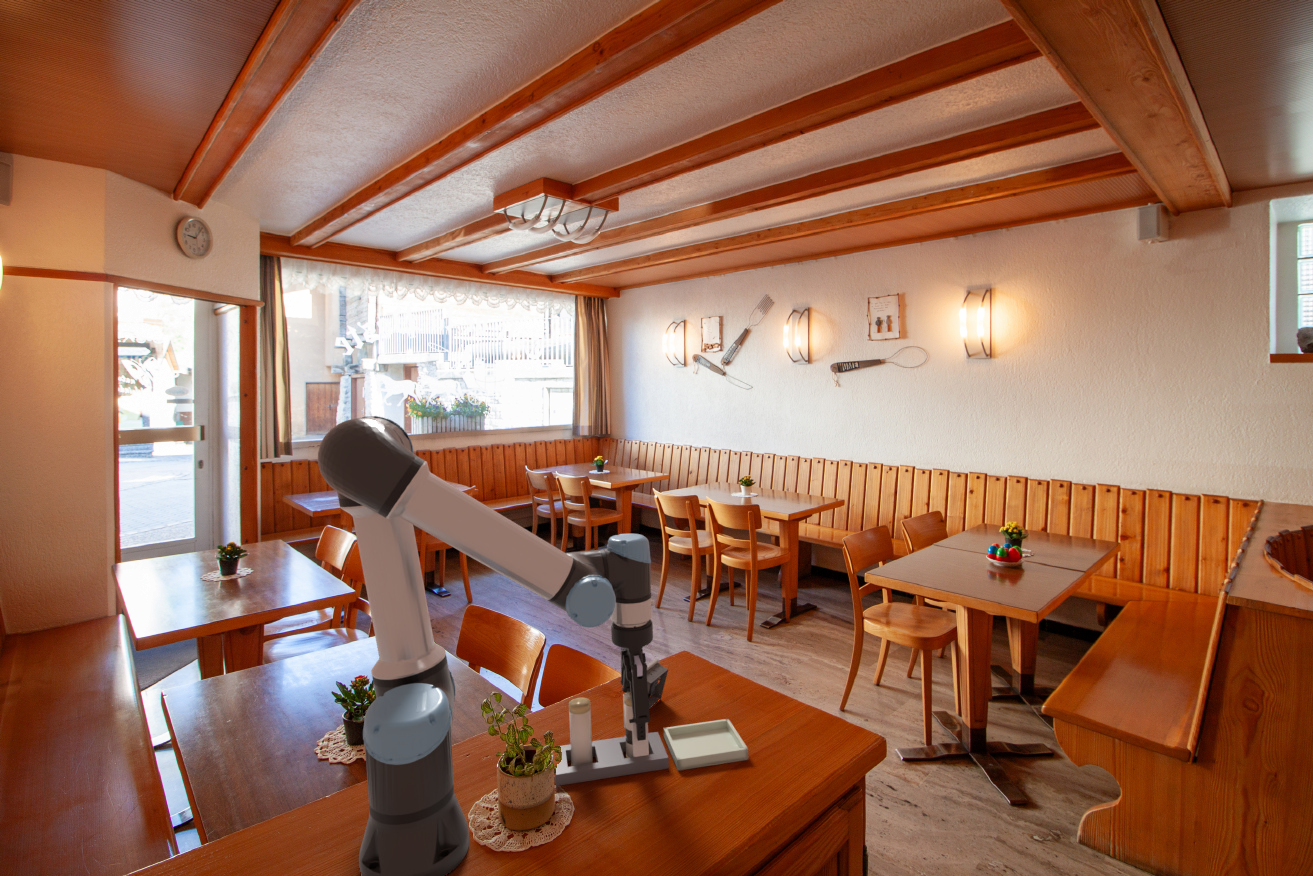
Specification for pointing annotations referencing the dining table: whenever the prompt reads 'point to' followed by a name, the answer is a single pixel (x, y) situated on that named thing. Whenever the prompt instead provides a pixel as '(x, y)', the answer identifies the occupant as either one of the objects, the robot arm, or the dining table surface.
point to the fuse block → (611, 761)
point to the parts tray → (705, 744)
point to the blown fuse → (628, 724)
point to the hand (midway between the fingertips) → (636, 740)
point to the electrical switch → (655, 681)
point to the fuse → (580, 731)
